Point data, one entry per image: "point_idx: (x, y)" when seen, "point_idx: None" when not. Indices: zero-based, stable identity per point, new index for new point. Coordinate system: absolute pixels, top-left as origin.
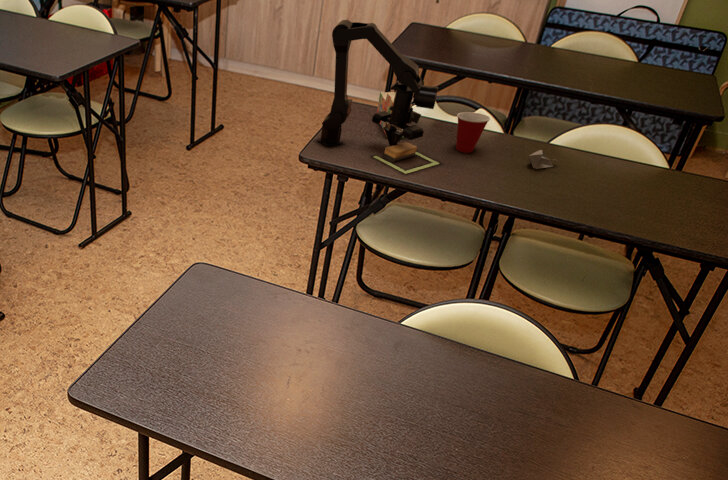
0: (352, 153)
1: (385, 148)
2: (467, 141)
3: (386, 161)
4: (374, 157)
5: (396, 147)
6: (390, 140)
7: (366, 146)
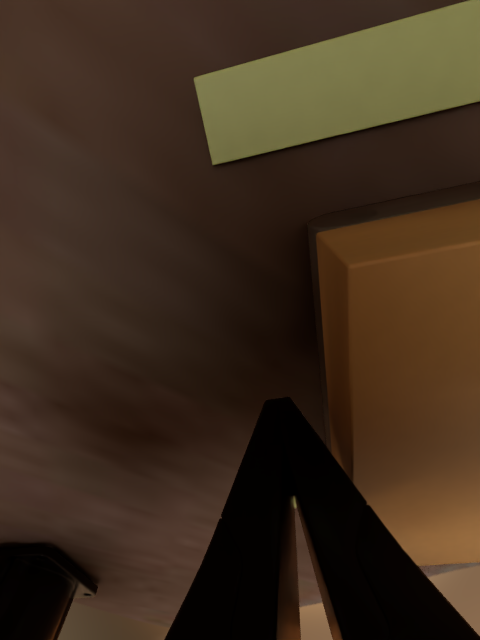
0: (194, 549)
1: None
2: None
3: None
4: None
5: (430, 509)
6: (296, 578)
7: (95, 467)
